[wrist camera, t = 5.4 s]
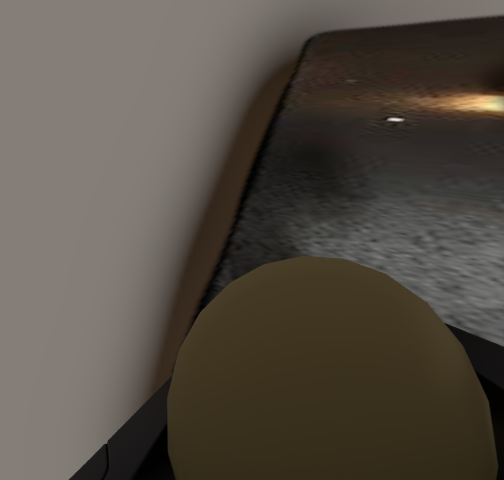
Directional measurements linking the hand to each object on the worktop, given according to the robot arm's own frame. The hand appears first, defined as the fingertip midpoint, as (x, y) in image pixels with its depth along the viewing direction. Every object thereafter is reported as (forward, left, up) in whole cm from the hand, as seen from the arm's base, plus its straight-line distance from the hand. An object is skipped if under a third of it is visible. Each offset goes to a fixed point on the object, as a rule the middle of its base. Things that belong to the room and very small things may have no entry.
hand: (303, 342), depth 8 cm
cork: (-1, 0, -7) cm, 7 cm away
